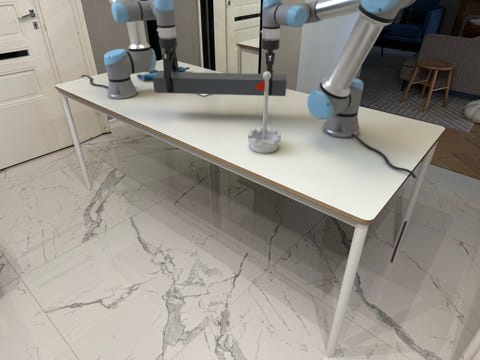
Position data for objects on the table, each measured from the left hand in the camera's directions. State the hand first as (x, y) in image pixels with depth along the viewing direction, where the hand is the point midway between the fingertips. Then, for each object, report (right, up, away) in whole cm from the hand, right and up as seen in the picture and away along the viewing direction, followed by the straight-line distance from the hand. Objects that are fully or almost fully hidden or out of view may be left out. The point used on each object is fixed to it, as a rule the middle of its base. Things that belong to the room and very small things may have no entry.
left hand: (173, 88), depth 158 cm
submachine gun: (-20, +27, +66) cm, 74 cm away
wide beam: (+22, -2, -1) cm, 22 cm away
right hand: (+44, -2, -3) cm, 45 cm away
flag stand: (+41, -29, -21) cm, 55 cm away
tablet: (+8, +13, +45) cm, 47 cm away
